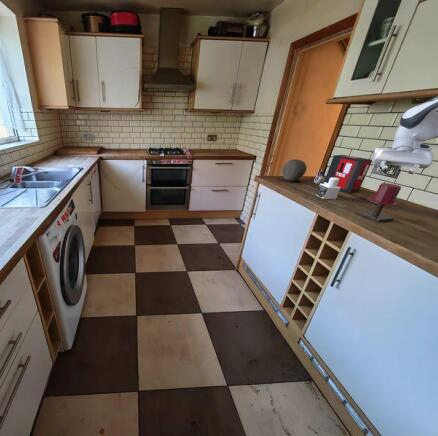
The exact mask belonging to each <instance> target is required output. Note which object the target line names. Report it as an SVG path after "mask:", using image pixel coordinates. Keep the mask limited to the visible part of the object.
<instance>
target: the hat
mask: <svg viewBox="0 0 438 436" xmlns="http://www.w3.org/2000/svg"><path fill="white" fill-rule="evenodd" d="M401 190H402V186H401V185H398V184H394V183H389V182H381V183H380V184H379V186H378V188H377V191H376V192H375V195H374V196H367V197H366V199H367V201H369V202H371V203H374V204H377V205H378V204H381V205H384V206H387V207H399V206H400V203H399V202H398V201H396V199H397V198H398V195H399V193H400V191H401Z"/></svg>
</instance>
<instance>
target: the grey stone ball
mask: <svg viewBox="0 0 438 436" xmlns="http://www.w3.org/2000/svg"><path fill="white" fill-rule="evenodd" d="M307 168H308V167H307V164H306V162H305V161H303V160H301V159H297V158H296V159H295V158H293V159H289V160H287V161H286V162H285V163H284V165H283V166H282V169H281V175H282V177H283V179H284V180H285V181H287V182H291V183H293V182H296V181H299V180H300V179H301V178H302V177H304V175H305V174H306V172H307Z"/></svg>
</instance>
